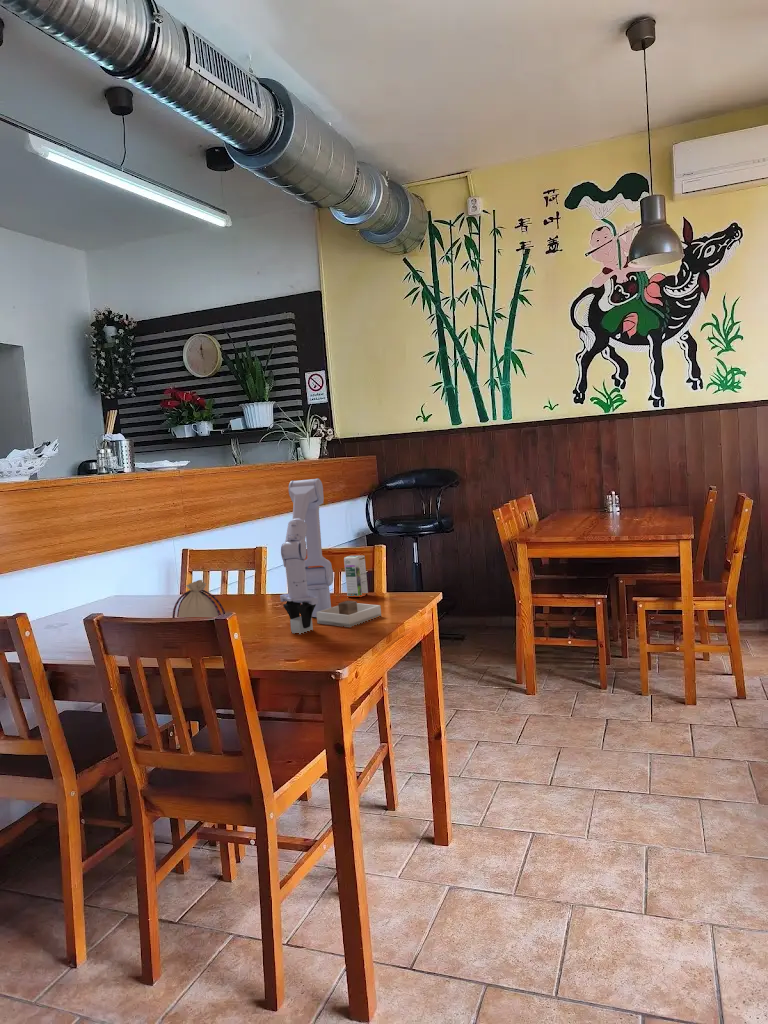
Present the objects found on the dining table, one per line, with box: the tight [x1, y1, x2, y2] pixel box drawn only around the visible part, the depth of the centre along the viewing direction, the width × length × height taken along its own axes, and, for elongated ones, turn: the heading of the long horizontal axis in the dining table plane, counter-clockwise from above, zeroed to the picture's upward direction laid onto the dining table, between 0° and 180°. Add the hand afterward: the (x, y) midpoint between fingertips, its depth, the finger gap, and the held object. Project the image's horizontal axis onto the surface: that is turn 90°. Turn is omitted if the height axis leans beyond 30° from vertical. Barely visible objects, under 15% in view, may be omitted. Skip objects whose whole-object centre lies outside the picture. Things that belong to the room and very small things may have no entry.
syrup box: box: [343, 555, 369, 596], centre depth 261 cm, size 6×6×14 cm
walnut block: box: [337, 600, 358, 615], centre depth 225 cm, size 4×4×4 cm
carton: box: [289, 615, 314, 635], centre depth 216 cm, size 4×5×4 cm
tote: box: [316, 603, 382, 628], centre depth 225 cm, size 14×14×4 cm
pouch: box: [172, 579, 226, 618], centre depth 208 cm, size 25×8×19 cm, turn 73°
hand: (301, 626), depth 216 cm, fingers closed on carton, 4 cm apart
